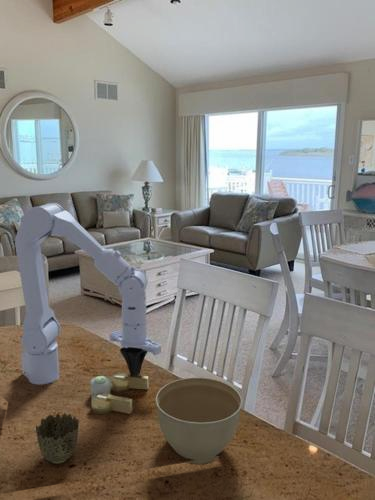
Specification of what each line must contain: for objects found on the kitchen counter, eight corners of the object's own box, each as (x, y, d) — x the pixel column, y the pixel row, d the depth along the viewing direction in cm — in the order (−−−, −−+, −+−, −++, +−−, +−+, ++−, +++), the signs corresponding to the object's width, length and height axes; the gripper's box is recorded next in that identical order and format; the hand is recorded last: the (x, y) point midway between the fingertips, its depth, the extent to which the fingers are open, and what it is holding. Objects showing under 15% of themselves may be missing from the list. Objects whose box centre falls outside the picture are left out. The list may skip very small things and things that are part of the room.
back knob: (107, 390, 107) (106, 379, 107) (113, 381, 112) (113, 369, 111) (145, 394, 106) (145, 382, 105) (150, 384, 111) (150, 372, 110)
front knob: (87, 411, 99) (86, 398, 98) (98, 400, 103) (98, 388, 103) (126, 419, 96) (125, 406, 95) (135, 407, 100) (135, 394, 100)
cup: (69, 480, 80) (67, 439, 78) (30, 474, 81) (27, 433, 80) (87, 453, 87) (85, 415, 85) (51, 448, 89) (48, 410, 87)
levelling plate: (48, 400, 106) (47, 376, 104) (109, 375, 117) (108, 354, 116) (90, 431, 94) (89, 405, 93) (153, 400, 106) (153, 377, 105)
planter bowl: (162, 484, 79) (162, 427, 77) (151, 429, 95) (150, 381, 92) (252, 472, 82) (254, 417, 80) (227, 421, 98) (228, 374, 95)
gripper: (100, 320, 110) (101, 372, 112) (147, 333, 102) (147, 390, 104) (120, 311, 115) (121, 362, 118) (166, 324, 107) (166, 378, 110)
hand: (135, 374), depth 112 cm, fingers closed
